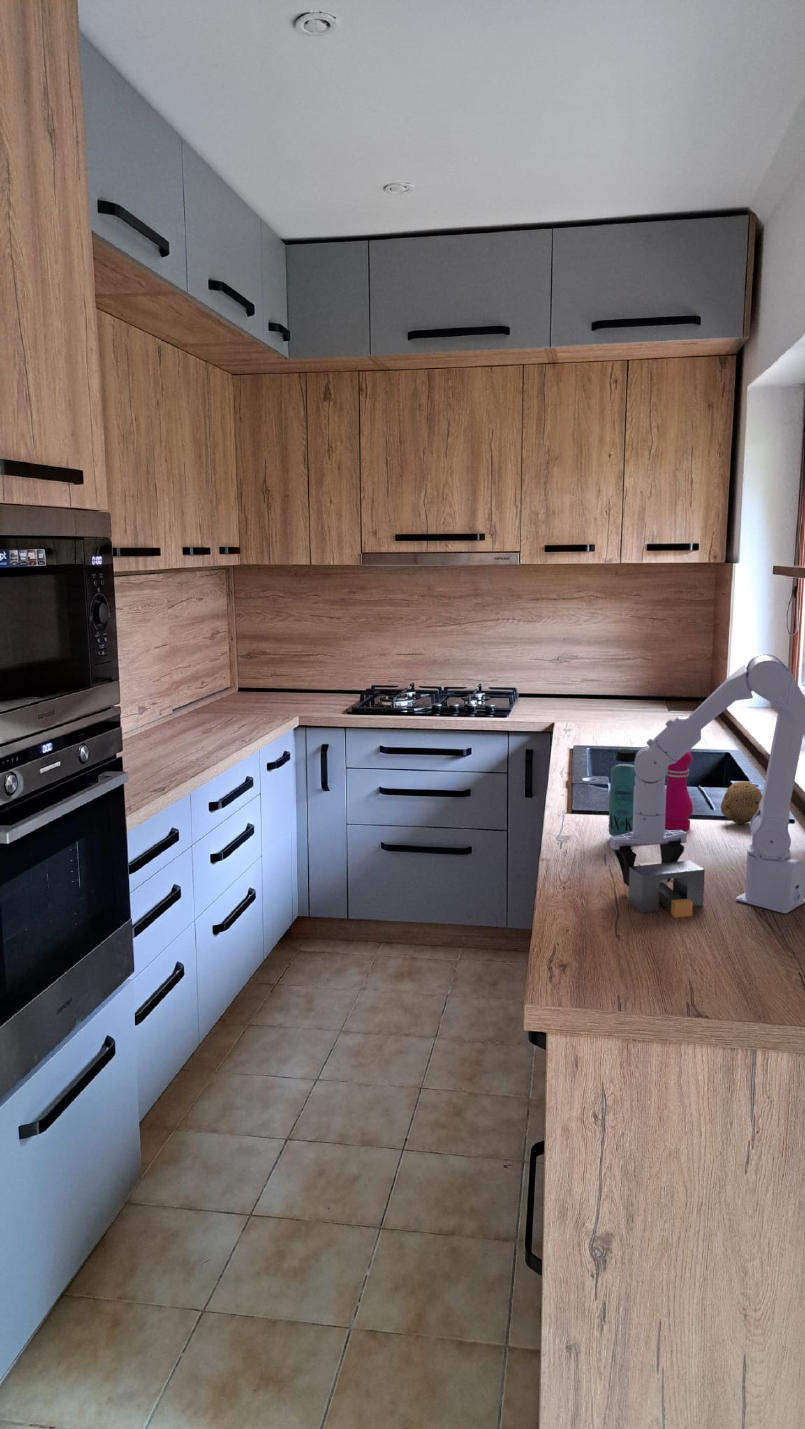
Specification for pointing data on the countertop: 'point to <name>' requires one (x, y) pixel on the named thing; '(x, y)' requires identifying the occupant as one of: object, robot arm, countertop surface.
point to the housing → (648, 876)
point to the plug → (672, 899)
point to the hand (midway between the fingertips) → (646, 882)
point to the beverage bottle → (622, 794)
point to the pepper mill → (678, 795)
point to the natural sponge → (741, 802)
